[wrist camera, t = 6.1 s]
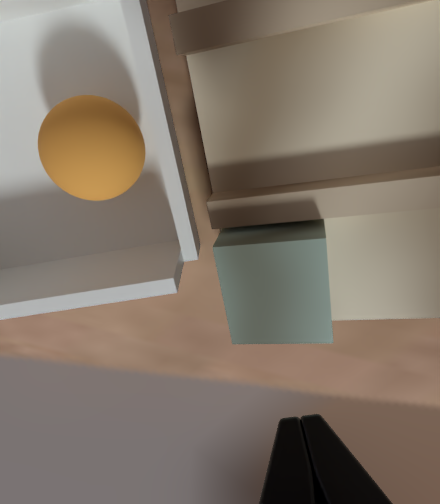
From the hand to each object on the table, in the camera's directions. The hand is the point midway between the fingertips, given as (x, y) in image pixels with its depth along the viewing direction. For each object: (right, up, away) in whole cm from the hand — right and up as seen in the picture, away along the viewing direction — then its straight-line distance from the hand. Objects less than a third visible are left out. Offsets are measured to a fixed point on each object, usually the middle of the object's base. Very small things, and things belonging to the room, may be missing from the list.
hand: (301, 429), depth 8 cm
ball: (-6, +7, +5) cm, 11 cm away
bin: (-9, +8, +7) cm, 14 cm away
